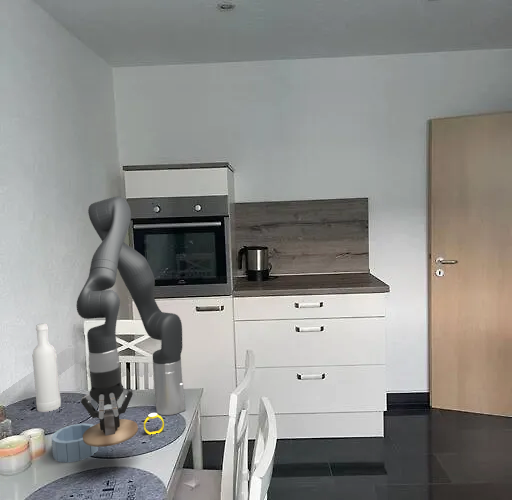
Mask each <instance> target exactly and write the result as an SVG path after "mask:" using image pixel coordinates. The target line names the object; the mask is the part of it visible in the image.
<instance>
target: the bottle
mask: <svg viewBox="0 0 512 500" xmlns="http://www.w3.org/2000/svg"><path fill="white" fill-rule="evenodd" d="M35 330H36V339H37V345H36V346H35V347H34V349H33V351H32V353H31V354H32V358H31V359H32V366H33V367H32V368H33V377H34V378H33V379H34V389H35V398H36V399H35V401H36V402H35V404H36V410H37V412H39V413H49V411H50V412H53V410H54V411H56V410H58V409H60V408H61V406H62V399H61V390H60V379H59V367H58V357H57V356H58V355H57V351H56V347H54V345H53V344H52V343H50V340H49V326H48V323H45V322H44V323H38V324H37V325H36V328H35ZM59 407H60V408H59Z"/></svg>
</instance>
